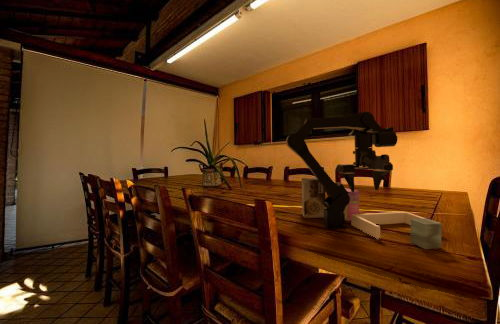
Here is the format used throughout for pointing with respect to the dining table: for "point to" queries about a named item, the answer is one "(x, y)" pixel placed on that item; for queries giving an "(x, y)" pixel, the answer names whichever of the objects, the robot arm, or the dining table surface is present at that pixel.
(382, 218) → the wooden frame
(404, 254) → the dining table surface
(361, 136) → the robot arm
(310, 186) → the coffee box
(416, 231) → the block
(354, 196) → the box
